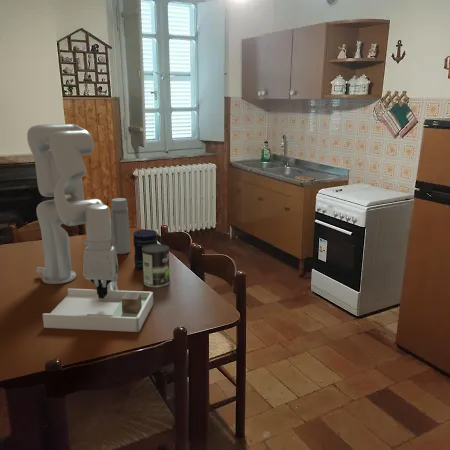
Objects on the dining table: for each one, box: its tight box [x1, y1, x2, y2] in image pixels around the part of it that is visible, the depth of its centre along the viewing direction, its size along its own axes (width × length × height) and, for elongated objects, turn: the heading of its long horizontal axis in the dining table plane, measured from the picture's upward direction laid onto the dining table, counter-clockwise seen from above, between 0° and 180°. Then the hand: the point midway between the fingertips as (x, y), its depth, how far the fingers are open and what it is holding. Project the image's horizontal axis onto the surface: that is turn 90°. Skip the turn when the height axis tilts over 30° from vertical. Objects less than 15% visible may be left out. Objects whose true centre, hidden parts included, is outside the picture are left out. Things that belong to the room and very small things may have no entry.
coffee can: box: [142, 243, 171, 288], centre depth 171 cm, size 10×10×14 cm
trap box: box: [42, 287, 155, 333], centre depth 146 cm, size 30×20×4 cm, turn 86°
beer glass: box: [101, 252, 119, 290], centre depth 161 cm, size 7×7×15 cm
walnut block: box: [122, 292, 142, 314], centre depth 144 cm, size 5×5×5 cm
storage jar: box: [132, 229, 159, 272], centre depth 187 cm, size 10×10×15 cm
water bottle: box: [110, 197, 131, 255], centre depth 202 cm, size 9×8×25 cm
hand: (102, 296), depth 145 cm, fingers closed
